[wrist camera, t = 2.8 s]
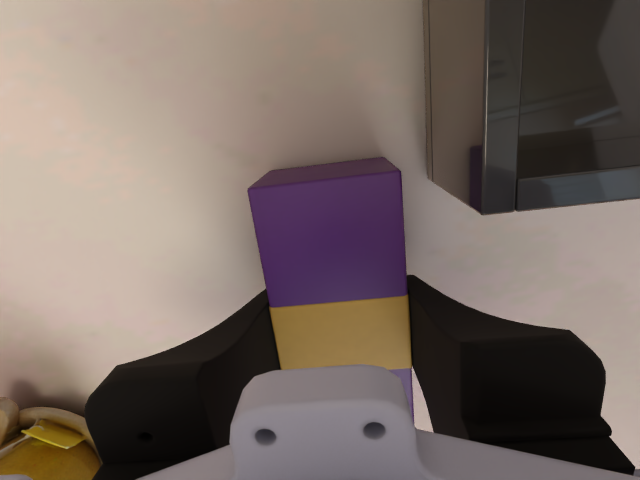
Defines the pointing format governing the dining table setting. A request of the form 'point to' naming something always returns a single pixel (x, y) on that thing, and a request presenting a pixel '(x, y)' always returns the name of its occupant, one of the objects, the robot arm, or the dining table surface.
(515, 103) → the sink
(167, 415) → the robot arm
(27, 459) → the toy tea set
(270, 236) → the candy bar
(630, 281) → the dining table surface
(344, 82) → the dining table surface
